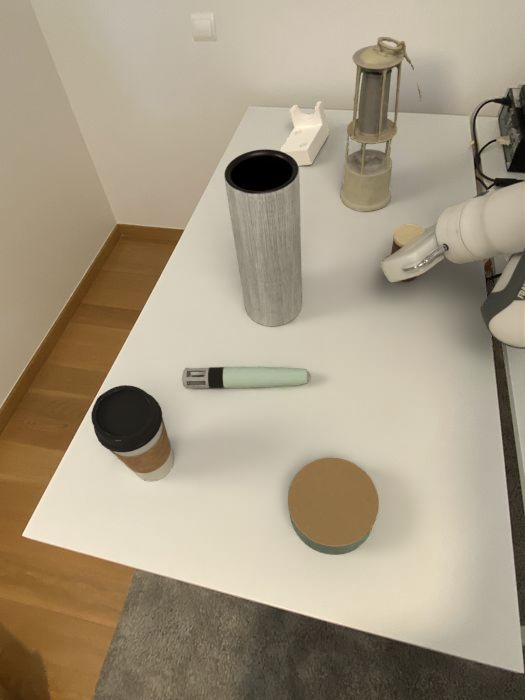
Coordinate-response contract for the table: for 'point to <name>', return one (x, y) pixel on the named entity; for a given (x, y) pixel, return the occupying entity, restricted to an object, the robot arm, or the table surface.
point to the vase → (267, 233)
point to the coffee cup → (134, 431)
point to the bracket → (306, 134)
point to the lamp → (372, 126)
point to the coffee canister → (405, 239)
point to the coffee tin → (332, 505)
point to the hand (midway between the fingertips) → (404, 249)
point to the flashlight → (245, 377)
